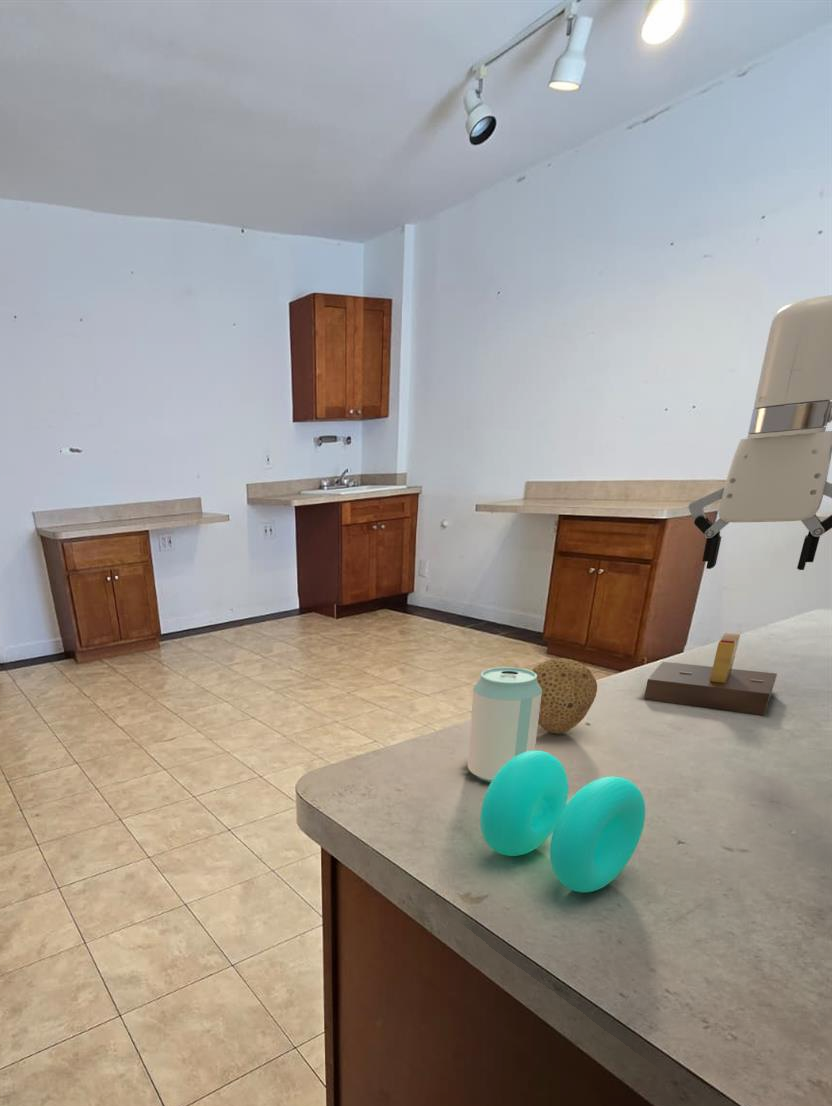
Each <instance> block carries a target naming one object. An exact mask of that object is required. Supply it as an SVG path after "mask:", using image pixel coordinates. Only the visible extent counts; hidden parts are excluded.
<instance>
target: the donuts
mask: <svg viewBox="0 0 832 1106" xmlns="http://www.w3.org/2000/svg"><path fill="white" fill-rule="evenodd" d="M489 783H490V784H489V785H488V787H487V789H486V792H485V794H484V797H483V799H482V804H481V809H480V816H479V817H480V819H479V821H480V823H479V824H480V830H481V834H482V836H483V839H484V840H485V842H486V844H487V845H488V846H489V847H490V848H491V849H492V850H493V851H494V852H496V853H498V854H500V855H502V856H503V855H504V856H507V857H516V856H517V857H519V856H522V855H527V854H528V853H531V852H533V851H534V850H536V849H537V848H539V847H540V846H542V845H543V844H544V843H545V842H546V841H547V840H548V839H549V838H550V837H551V840H550V844H549V860H550V865H551V868H552V871H553V874H554V875H555V877H556V879H557V880H558V882H560V883H561V884H562V885H563V886H564V887H565V888H566V889H569V890H571V891H573V892H577V893H591V892H592V893H593V892H595V891H598V890H601V889H603V888H604V887H606V886H608V885H609V884H610V883H612V882H613V880H615V879H616V878H617V877H618V875H620V873H622V871H623V870H624V869H625V867H626V865H627V864H628V863H629V862H630V860H631V859H632V856H633V855H634V852H635V851H636V849H637V847H638V845H639V841H640V839H641V836H642V834H643V830H644V827H645V826H644V825H645V821H646V803H645V800H644V799H645V798H644V796H643V794H642V792H641V790H640V788H639V787H638V786H637V785H636V784H635V783H634V782H632V781H630V780H629V779H627V778H624V777H621V776H615V775H613V776H603V777H600V778H597V779H595V780H592V781H591V782H589V783H587V784H585V785H584V786H583V787H581V788H580V789H579V790H578V791H577V792H576V793H574V795H573V796H572V797H571V798H570V799H569V801H568V796H569V780H568V774H567V772H566V769H565V767H564V766H563V764H562V763H561V761H560V760H559V759H558V758H557V757H556V756H554V755H552V754H551V753H550V752H547V751H543V750H536V749H535V750H533V751H527V752H524V753H521V754H519V755H517V756H515V757H514V758H512V759H511V760H509V761H508V762H507V763H506V764H505V765H504V766H503V767H502V768H501V769H500V770H499V771H498V773H497V774H496V775H495V777H494V778H493V780H492V782H489Z"/></svg>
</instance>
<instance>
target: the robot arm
mask: <svg viewBox="0 0 832 1106" xmlns="http://www.w3.org/2000/svg"><path fill="white" fill-rule="evenodd" d="M831 422H832V294H829V295H822V296H817V297H812V298H811V297H810V298H806V299H802V300H799V301H795V302H792V303H789V304H787V305H785V306H783V307H782V308H781V309H779V310H778V311H777V312H776V314H775V315H774V316H773V319H772V320H771V325H770V328H769V333H768V338H767V343H766V346H765V351H764V356H763V361H762V365H761V371H760V375H759V379H758V385H757V389H756V394H755V399H754V403H753V409H752V413H751V417H750V422H749V426H748V432H747V433H748V434H747V437H746V438H745V437H744V438H740V440H739V442H738V445H737V447H736V450H735V452H734V455H733V457H732V461H731V464H730V467H729V469H728V474H727V477H726V481H725V484H724V486H723V487H721V488H719V489H717V490H715V491H713V492H711V493H709V494H707V495H704V496H703V497H700V498H698V499H696V500H694V501H692V502H690V503H689V504H688V510H689V512H690V516H691V517H692V520H693V523H694V525H695V526H696V527H697V528H698V530H699V531H701V533H702V534H703V535H704V537H705V538H706V540H705V545H704V550H703V555H702V562H706V567H705V569H706V570H711V569H713V568H715V566H716V565H717V561H718V556H719V551H720V546H721V542H722V536H721V531H722V529H724V528H725V527H727V525H728V524H729V523H777V522H778V523H779V522H780V523H781V522H783V523H784V522H799V521H801V523H802V524H803V525H804V527H805V528H806V529H807V531H808V533H807V534H806V535H805V537H804V540H803V544H802V547H801V551H800V554H799V559H798V563H797V566H796V569H797V570H798V571H804V570H805V568H806V564H807V563H814V561H815V556H816V553H817V549H818V545H819V541H820V538H821V536H823V535H824V534H825V533H827V532H828V531H829V530H831V529H832V514H831V515H829V516H828V517H826V518H825V519H823V520H821V519H820V517H818V515H817V512H818V511H819V509H820V508H821V504H822V501H823V498H824V496H826V497H828V498H830V499H832V483H831V482H829V481H827V480H828V475H829V471H830V465H831V460H832V430H827V426H828V424H829V423H831ZM720 500H721V501H720ZM717 501H720V505H719V511H718V514H719V515H718V516H719V517H718V518H719V519H718V520H716V521H715V522H714V523H713V522H712V521H711V520H710V519H709V518H708V517H707V516H706V513H705V511H704V509H705V507H707V506H709V505H712V504H713V503H716V502H717Z"/></svg>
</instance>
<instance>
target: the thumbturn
mask: <svg viewBox="0 0 832 1106" xmlns="http://www.w3.org/2000/svg"><path fill="white" fill-rule="evenodd" d="M740 638H741V634H740V633H724V634H723V635H722V636H721V638H720V640H719V641H718V643H717V648H716V652H715V656H714V660H713V664H712V667H713V668H712V673H711V677H710V681H712V682H721V683H725V682H726V680H727V679H728V677H729V675H730V673H731V670H732V669H733V667H734V666H733V665H734V661H735V657H736V653H737V649H738V646H739V641H740Z"/></svg>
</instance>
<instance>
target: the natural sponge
mask: <svg viewBox="0 0 832 1106" xmlns="http://www.w3.org/2000/svg"><path fill="white" fill-rule="evenodd" d="M530 671H533V672H534V673H536V674H537V682H538V684H539V685H540V687H541V689H542V695H541V704H540V712H539V720H538V726H540V727H541V728H542V729H543V730H544V731H546V732H547V733H550V734H553V735H561V734H565V733H567V732H569V731H570V730H572V729H574V728H575V727H576V726H578V725H579V724H580V723H581V722H582V721H583V720H584V718H585V717H586V716H587V714H588V713H589V711H590V709H591V707H592V705H593V703H594V701H595V699H596V697H597V694H598V693H597V692H598V682H597V679H596V677H595V676H594V674H593V672H592V671H591V670H590V669H589V668H588V667H587V666H586V665H584V664H583V663H581V662H579V661H577V660H574V659H569V658H561V657H560V658H559V657H558V658H551V659H548V660H545V661H543V662H541V663H539V664H538V665H536V666H534V667H533V668H531V670H530Z"/></svg>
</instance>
